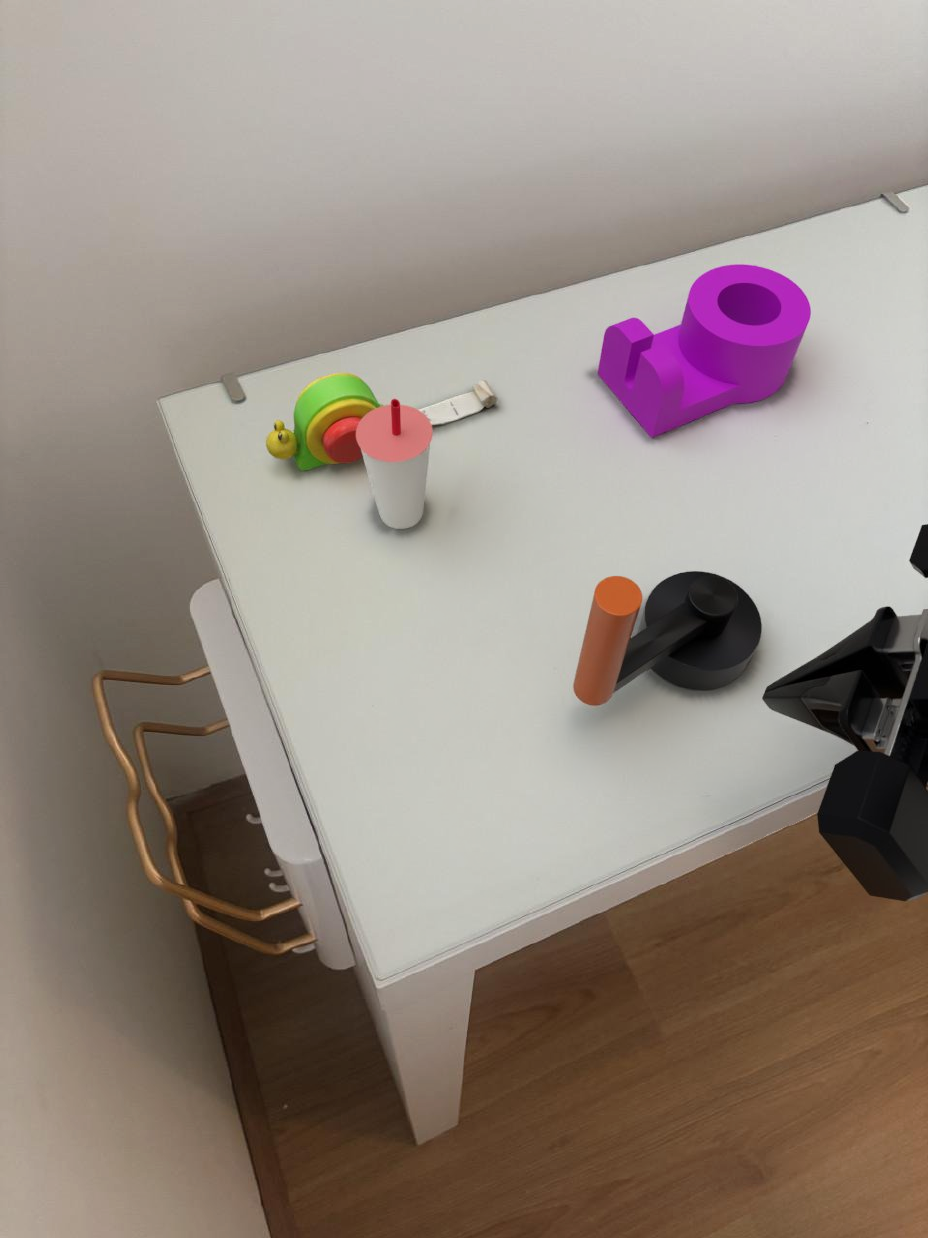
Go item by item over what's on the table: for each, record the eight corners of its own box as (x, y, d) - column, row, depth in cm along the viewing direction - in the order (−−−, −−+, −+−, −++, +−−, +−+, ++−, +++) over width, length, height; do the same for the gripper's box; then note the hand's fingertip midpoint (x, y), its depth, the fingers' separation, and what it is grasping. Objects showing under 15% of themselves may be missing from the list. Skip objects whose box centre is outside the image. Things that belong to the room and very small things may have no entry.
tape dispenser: (741, 310, 84) (760, 251, 78) (810, 378, 79) (836, 321, 74) (592, 368, 80) (602, 309, 74) (656, 443, 75) (672, 387, 70)
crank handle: (704, 589, 64) (750, 480, 54) (737, 621, 63) (790, 515, 53) (560, 685, 60) (581, 586, 50) (592, 721, 59) (619, 627, 49)
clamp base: (754, 606, 67) (766, 583, 64) (744, 701, 63) (757, 681, 60) (646, 584, 68) (653, 560, 66) (629, 676, 64) (636, 655, 61)
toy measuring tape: (260, 441, 75) (244, 381, 70) (477, 374, 79) (478, 313, 74) (284, 497, 72) (269, 439, 67) (508, 424, 76) (511, 364, 71)
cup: (446, 526, 71) (444, 415, 61) (381, 548, 70) (367, 439, 59) (420, 477, 73) (413, 362, 63) (357, 497, 72) (340, 385, 62)
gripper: (1125, 1001, 37) (781, 928, 49) (1183, 649, 46) (877, 661, 58) (1028, 848, 32) (673, 810, 44) (1112, 487, 41) (795, 538, 53)
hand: (767, 698), depth 50 cm, fingers closed
